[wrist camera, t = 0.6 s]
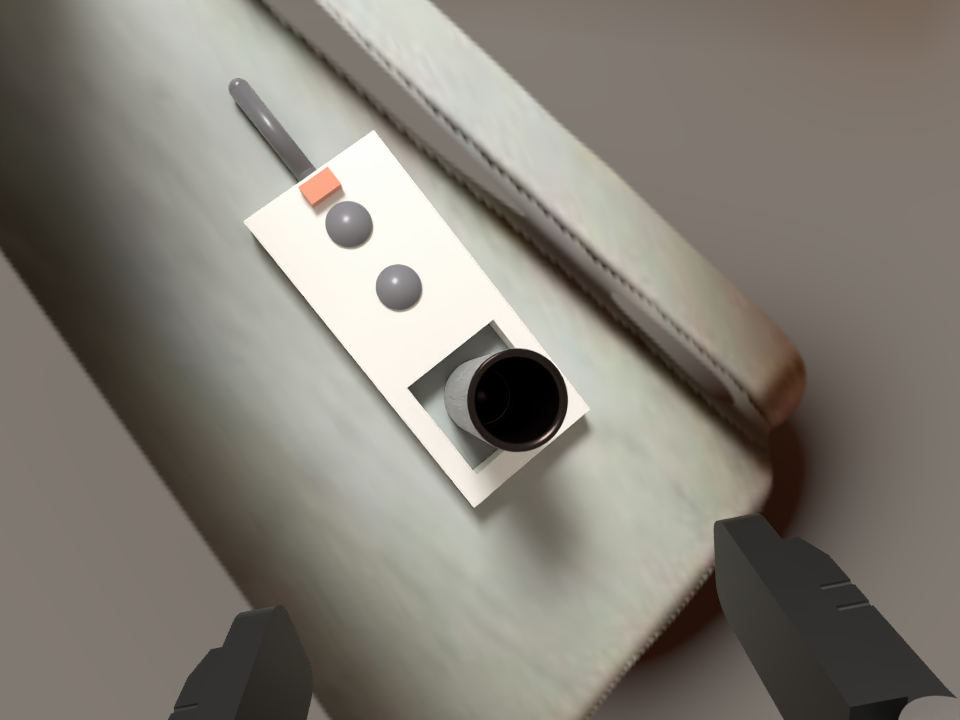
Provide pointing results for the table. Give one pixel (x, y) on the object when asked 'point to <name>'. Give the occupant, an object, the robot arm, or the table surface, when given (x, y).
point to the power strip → (387, 280)
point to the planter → (508, 399)
